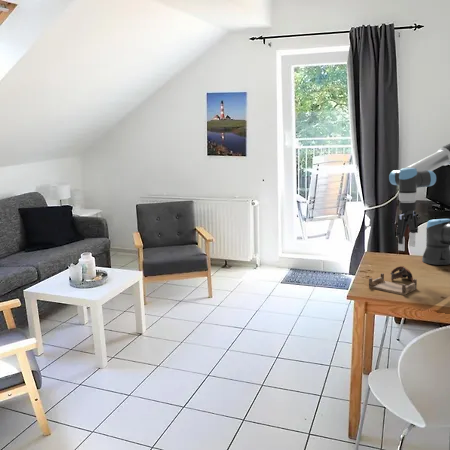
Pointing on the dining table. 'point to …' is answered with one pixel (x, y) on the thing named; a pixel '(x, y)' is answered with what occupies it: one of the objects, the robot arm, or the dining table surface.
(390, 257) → the dining table surface
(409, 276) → the pottery mug
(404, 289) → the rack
